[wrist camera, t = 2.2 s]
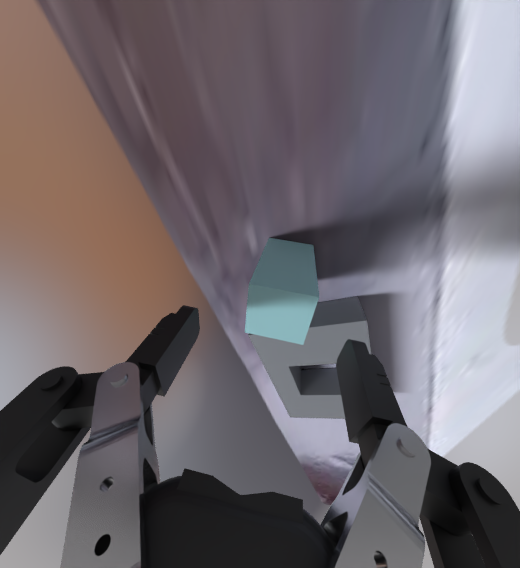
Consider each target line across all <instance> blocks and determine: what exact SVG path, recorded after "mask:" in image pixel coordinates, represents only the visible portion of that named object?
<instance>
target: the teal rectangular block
mask: <svg viewBox="0 0 520 568" xmlns="http://www.w3.org/2000/svg"><path fill="white" fill-rule="evenodd" d="M318 299H319V291H318V282H317V273H316V264H315V255H314V247H313V245H310V244H304V243H298V242H292V241H286V240H280V239H274V238H269V239H268V242H267V244H266V246H265V248H264V251H263V253H262V255H261V258H260V260H259V262H258V265H257V267H256V269H255V271H254V274H253V276H252V278H251V281H250V283H249V290H248V302H247V313H246V325H245V332H246V333H250V334H255V335H259V336H264V337H269V338H273V339H278V340H283V341H287V342H292V343H296V344H301V345H303V344H304V341H305V338H306V335H307V332H308V329H309V326H310V323H311V320H312V317H313V314H314V311H315V308H316V305H317V302H318Z"/></svg>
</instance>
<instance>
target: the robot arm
mask: <svg viewBox="0 0 520 568" xmlns="http://www.w3.org/2000/svg"><path fill="white" fill-rule="evenodd" d="M199 329H200V326H199V313H198V309H197V308H193V307H189V306H182V307H181V308H180V309H179V311H178V312H177V313H176V314H174V313H170V314H169V315H167V316H166V317H164V318H163V319H162V320H161V321H160V322H159V323H158V324H157V325H156V328H154V329H153V330H152V331H151V333H150V334H149V335H148V336H147V337H146V338H145V340H144V341H143V342H142V343H141V344H140V346H139V347H138V348H137V349H136V350H135V352H134V353H133V354H132V355H131V356H130V357H129V359H128V360H127V361H126V362H123V363H119V364H116V365H114V366H112V367H110V368H109V369H107V370H106V371H105V372H100V373H90V374H78V373H77V372H76V370H75V369H74V368H72V367H59V368H55V369H52V370H50V371H48V372H46V373H44V374H42V375H41V376H39V377H38V378H37V379H36V380H34V381H33V382H32V383H31V384H30V385H29V386H28V387H26V388H25V389H24V390H23V391H22V392H21V393H20V394H19V395H18V396H16V397H15V398H14V399H13V400H12V401H11V402H10V403H9V404H8V405H6V406H5V407H4V408H3V409H2V410H1V411H0V555H1V553H2V552H3V551H4V549H5V548H6V546H7V545H8V544H9V542H10V541H11V539H12V538H13V536H14V535H15V534H16V532H17V531H18V529H19V528H20V527H21V525H22V524H23V522H24V521H25V520H26V518H27V517H28V515H29V514H30V513H31V511H32V510H33V508H34V507H35V506H36V504H37V503H38V501H39V500H40V499H41V497H42V496H43V494H44V493H45V491H46V490H47V488H48V487H49V486H50V485H51V483H52V482H53V480H54V479H55V477H56V476H57V475H58V473H59V472H60V470H61V469H62V468H63V466H64V465H65V463H66V462H67V461H68V459H69V458H70V456H71V455H72V453H73V452H74V451H75V449H76V448H77V446H78V445H79V444H80V442H81V441H82V439H83V438H84V436H85V435H86V434H87V432H88V431H89V430H90V428H91V432H90V437H89V440H88V442H86V443H84V445H82V447H81V450H80V452H79V457H78V462H77V468H76V474H75V481H74V487H73V493H72V500H71V506H70V512H69V518H68V524H67V531H66V537H65V543H64V549H63V555H62V561H61V568H422V563H423V557H424V551H425V540H424V535H423V534H422V532H421V531H420V530H419V527H418V522H419V517H420V520H421V524H422V527H423V531H424V534H425V537H426V541H427V544H428V547H429V551H430V554H431V558H432V561H433V564H434V568H520V511H519V509H518V507H517V506H516V504H515V502H514V501H513V499H512V497H511V496H510V494H509V493H508V491H507V490H506V489H505V488H504V486H503V485H502V484H501V483H500V482H499V481H498V480H497V479H496V478H495V477H494V476H493V475H492V474H490V473H489V472H488V471H486V470H485V469H484V468H482V467H480V466H478V465H476V464H474V463H469V462H467V463H463V464H461V465H459V466H457V465H456V464H454V463H452V462H450V461H448V460H447V459H445V458H443V457H441V456H439V455H438V454H436V453H434V452H432V451H431V450H429V449H427V447H426V445H425V444H424V442H423V441H422V440H421V439H420V437H419V436H418V435H417V434H416V433H415V432H413V431H412V430H411V429H410V428H408V427H407V425H406V423H405V420H404V418H403V415H402V413H401V410H400V408H399V405H398V403H397V400H396V398H395V395H394V393H393V390H392V388H391V387H390V383H389V380H388V378H387V377H386V376H387V375H386V373H385V370H384V368H383V366H382V364H381V363H380V362H379V360H378V359H377V358H376V357H375V355H372V354H369V351H368V349H367V346H366V344H365V343H364V342H361V341H356V340H351V339H348V340H347V341H346V342H345V344H344V346H343V348H342V350H341V352H340V354H339V356H338V358H337V363H336V369H337V375H338V381H339V386H340V392H341V397H342V403H343V409H344V414H345V420H346V426H347V431H348V437H349V442H353V443H357V444H359V447H360V453H359V454H358V456H357V458H356V460H355V462H354V464H353V466H352V468H351V470H350V472H349V474H348V476H347V478H346V480H345V482H344V484H343V487H342V489H341V491H340V493H339V494H338V496H337V498H336V499H335V501H334V502H333V503H332V505H331V506H330V508H329V509H328V511H327V513H326V515H325V516H324V519H323V521H322V522H321V524H319V523H318V522H317V521H316V520H315V519H314V518H313V516H311V515H310V514H309V513H308V512H307V511H306V510H304V509H303V500H301V499H298V498H294V497H290V496H287V495H283V494H278V493H275V492H267V493H258V494H249V495H239V494H238V493H236V492H235V491H233V490H232V489H230V488H229V487H227V486H226V485H225V484H223V483H222V482H220V481H219V480H218V479H216V478H215V477H214V476H211V475H207V474H204V473H200V472H196V471H192V470H189V469H184V472H183V474H182V476H177V477H174V478H170V479H167V480H165V481H163V482H161V483H160V472H159V465H158V459H157V454H156V447H155V437H154V424H153V411H152V401H153V400H154V398H155V396H156V395H161V396H165V395H166V393H167V391H168V389H169V387H170V386H171V384H172V382H173V380H174V379H175V377H176V375H177V373H178V371H179V370H180V368H181V366H182V364H183V362H184V361H185V359H186V357H187V355H188V354H189V352H190V350H191V348H192V346H193V344H194V343H195V341H196V339H197V337H198V334H199ZM472 535H473V536H472ZM480 554H481V555H480ZM483 561H484V562H483Z"/></svg>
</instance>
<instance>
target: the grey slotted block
mask: <svg viewBox="0 0 520 568" xmlns="http://www.w3.org/2000/svg"><path fill="white" fill-rule="evenodd" d="M248 336H249V338H250V340H251V342H252V344H253V346H254V347H255V349H256V351H257V353H258V355H259V357H260V359H261V361H262V363H263V365H264V367H265V369H266V371H267V373H268V375H269V377H270V379H271V381H272V383H273V385H274V387H275V389H276V391H277V392H278V394H279V396H280V398H281V400H282V402H283V404H284V406H285V408H286V410H287V412H288V414H289V416H290V417H294V418H333V419H345V414H344V409H343V403H342V397H341V392H340V386H339V381H338V375H337V369H336V368H327V369H309V370H301V369H300V366H305V365H322V364H336V363H337V358H338V356H339V354H340V352H341V350H342V348H343V346H344V344H345V342H346V341H347V340H348V339H351V340H356V341H361V342H364V343H365V344H366V346H367V349H368V351H369V354H371V348H370V340H369V332H368V324H367V319H366V316H365V314H364V311H363V309H362V306H361V304H360V301H359V298H358V296H357V297H350V298H344V299H338V300H332V301H326V302H320V303H317V305H316V308H315V311H314V314H313V317H312V320H311V323H310V326H309V329H308V332H307V335H306V338H305V341H304V344H303V345H301V344H296V343H292V342H287V341H283V340H278V339H273V338H269V337H264V336H259V335H255V334H250V333H249V334H248Z"/></svg>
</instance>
